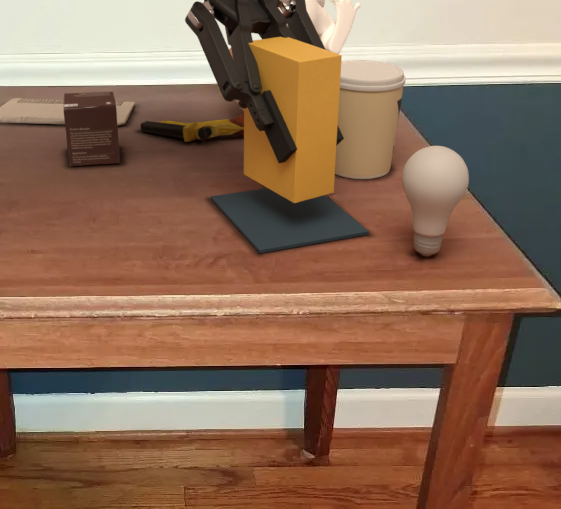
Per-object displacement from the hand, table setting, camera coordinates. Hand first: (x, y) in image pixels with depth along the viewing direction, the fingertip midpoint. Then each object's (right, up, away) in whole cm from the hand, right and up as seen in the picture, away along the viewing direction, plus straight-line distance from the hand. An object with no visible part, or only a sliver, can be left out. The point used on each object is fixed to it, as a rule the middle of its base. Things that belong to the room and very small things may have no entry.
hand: (311, 150), depth 83 cm
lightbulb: (+11, -10, -1) cm, 15 cm away
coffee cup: (+6, 0, +20) cm, 21 cm away
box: (-26, +2, +20) cm, 33 cm away
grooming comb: (-33, +13, +39) cm, 53 cm away
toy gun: (-10, +9, +33) cm, 35 cm away
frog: (-3, +15, +34) cm, 37 cm away
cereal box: (-2, -3, +5) cm, 6 cm away
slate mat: (-2, -6, +6) cm, 9 cm away
